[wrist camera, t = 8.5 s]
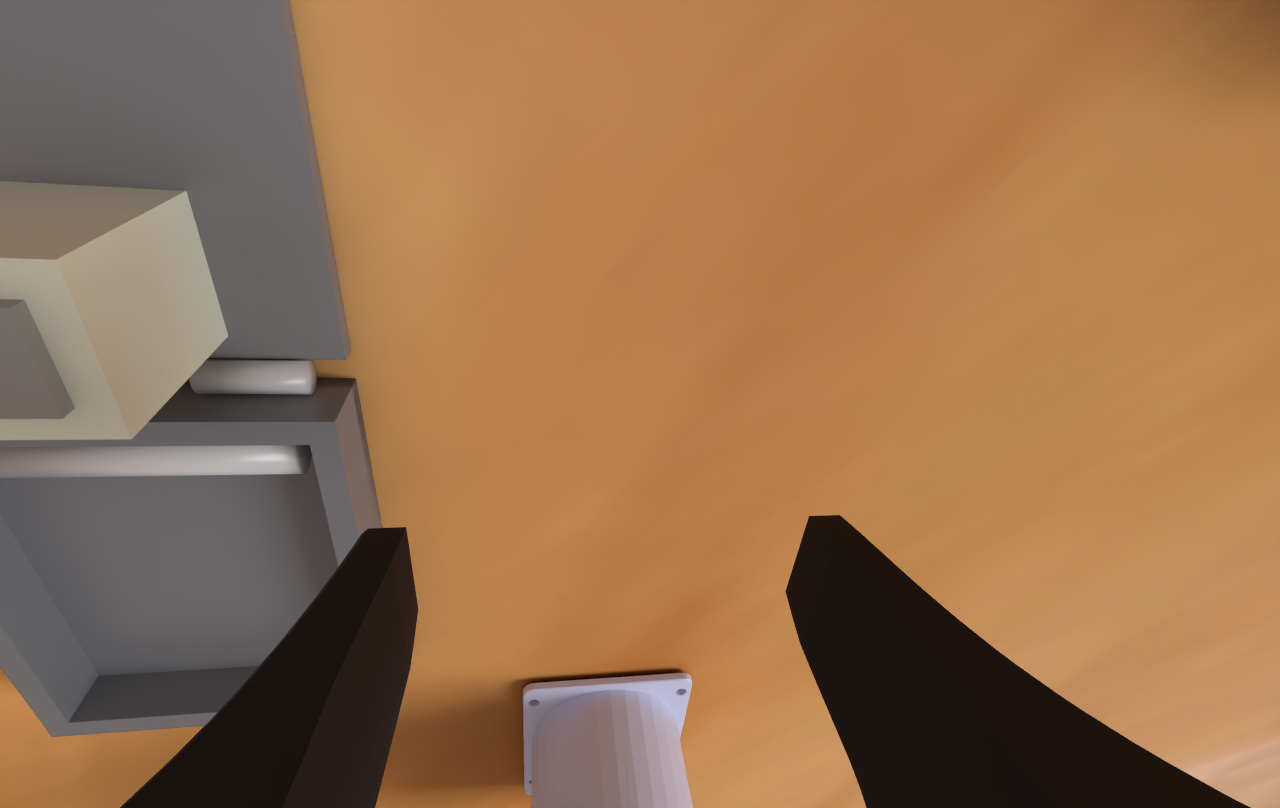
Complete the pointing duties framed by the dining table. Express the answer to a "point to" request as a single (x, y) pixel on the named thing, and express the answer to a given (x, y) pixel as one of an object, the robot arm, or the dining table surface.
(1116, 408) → the dining table surface
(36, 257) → the block
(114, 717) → the case
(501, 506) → the dining table surface
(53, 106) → the lid panel
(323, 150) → the dining table surface
